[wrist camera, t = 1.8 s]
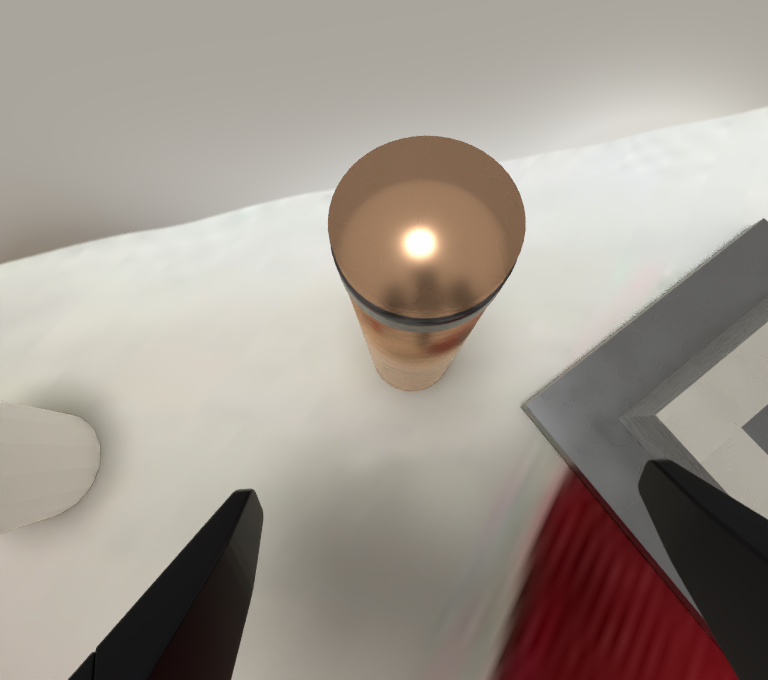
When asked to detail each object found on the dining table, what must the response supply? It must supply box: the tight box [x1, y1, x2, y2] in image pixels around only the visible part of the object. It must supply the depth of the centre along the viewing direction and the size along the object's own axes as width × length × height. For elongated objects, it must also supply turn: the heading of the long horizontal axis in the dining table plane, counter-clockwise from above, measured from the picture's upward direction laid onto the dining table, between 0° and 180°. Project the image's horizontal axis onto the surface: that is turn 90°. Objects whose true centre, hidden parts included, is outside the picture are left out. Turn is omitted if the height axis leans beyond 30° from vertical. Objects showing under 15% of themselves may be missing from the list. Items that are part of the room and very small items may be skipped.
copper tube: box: [328, 136, 525, 391], centre depth 15 cm, size 4×4×14 cm
